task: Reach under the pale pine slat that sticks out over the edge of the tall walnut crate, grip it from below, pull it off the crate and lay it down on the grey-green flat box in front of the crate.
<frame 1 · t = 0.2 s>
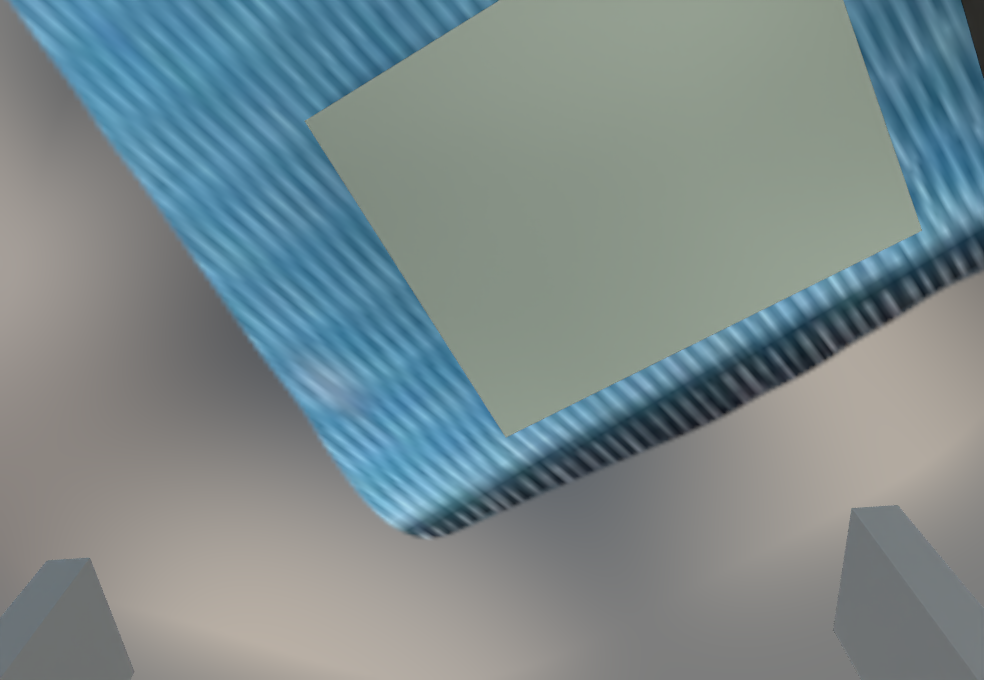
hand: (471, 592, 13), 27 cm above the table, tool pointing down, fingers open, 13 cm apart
grey-green flat box: (605, 161, 37), on the table
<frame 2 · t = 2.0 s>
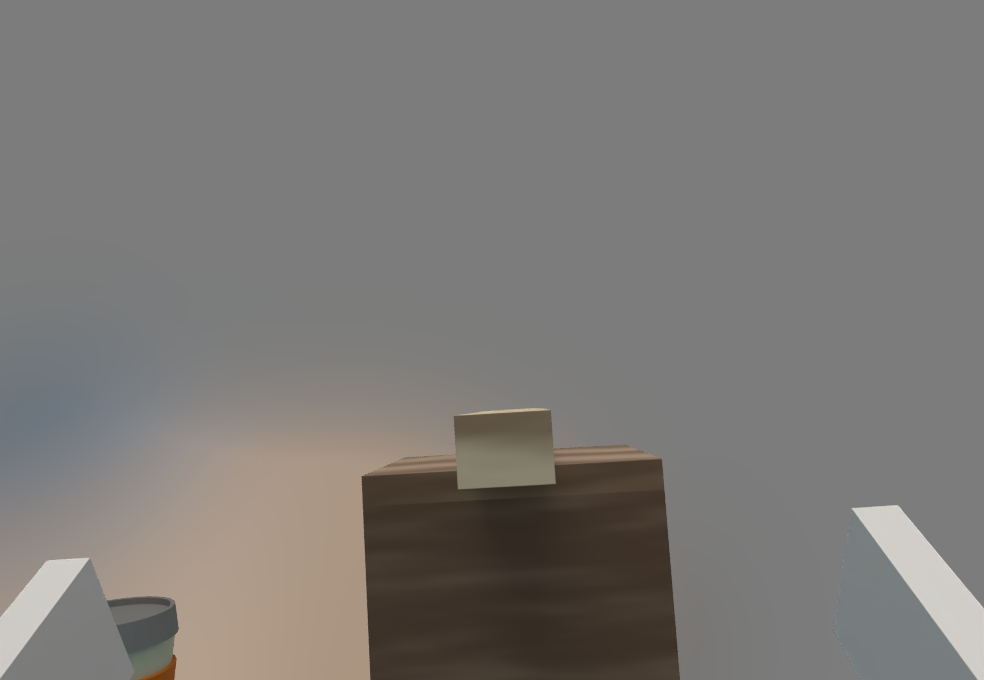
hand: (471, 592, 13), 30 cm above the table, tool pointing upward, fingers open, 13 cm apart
pine slat: (511, 463, 41), point 30 cm above the table, touching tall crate
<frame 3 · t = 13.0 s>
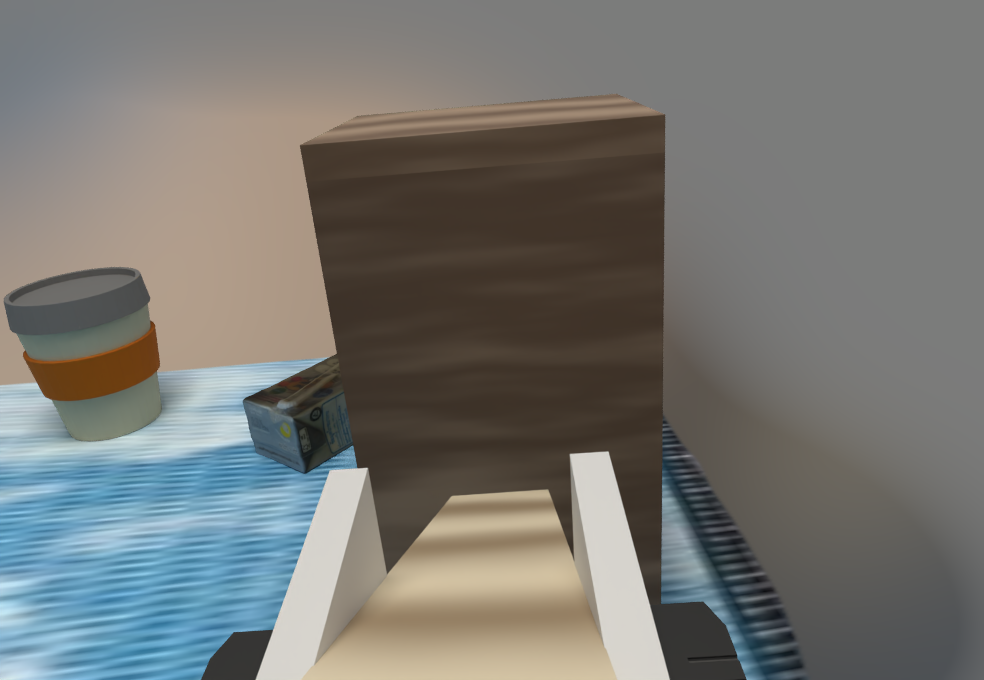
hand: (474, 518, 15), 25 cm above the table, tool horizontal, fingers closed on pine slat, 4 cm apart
pine slat: (494, 671, 18), point 19 cm above the table, tilted 28°, touching gripper
beverage carton: (355, 423, 72), on the table
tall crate: (521, 571, 49), on the table
reusable coffee cup: (117, 421, 76), on the table
when the fingers open (17 cm above the table, at t = 15.0 s): pine slat drops 7 cm, resting on grey-green flat box.
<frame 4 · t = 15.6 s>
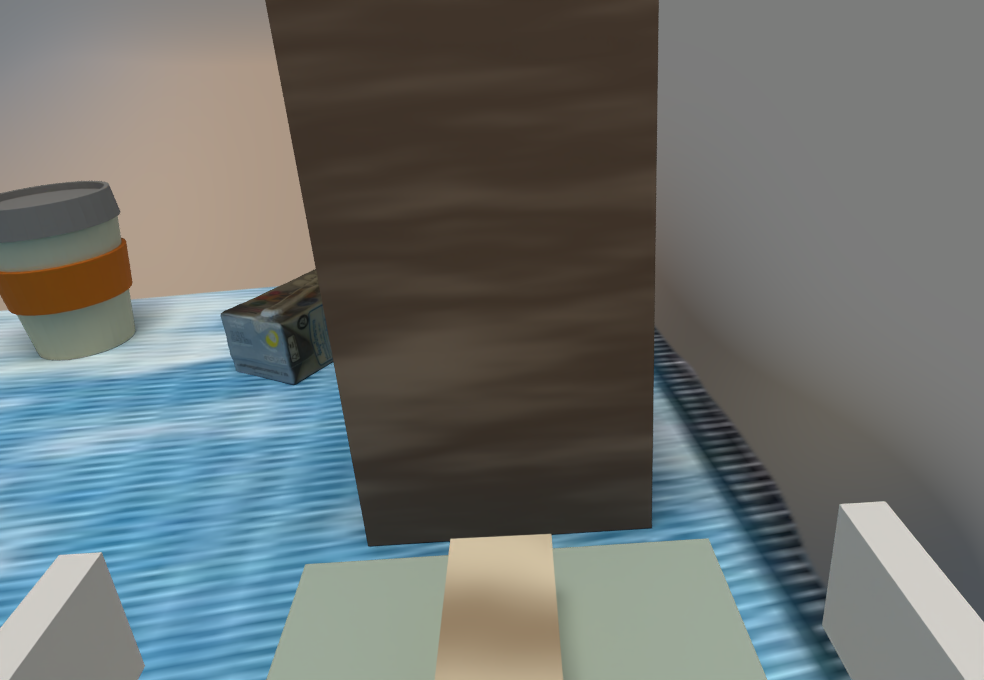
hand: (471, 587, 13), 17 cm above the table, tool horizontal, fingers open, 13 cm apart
beverage carton: (336, 340, 69), on the table
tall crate: (506, 466, 47), on the table
reusable coffee cup: (88, 342, 73), on the table
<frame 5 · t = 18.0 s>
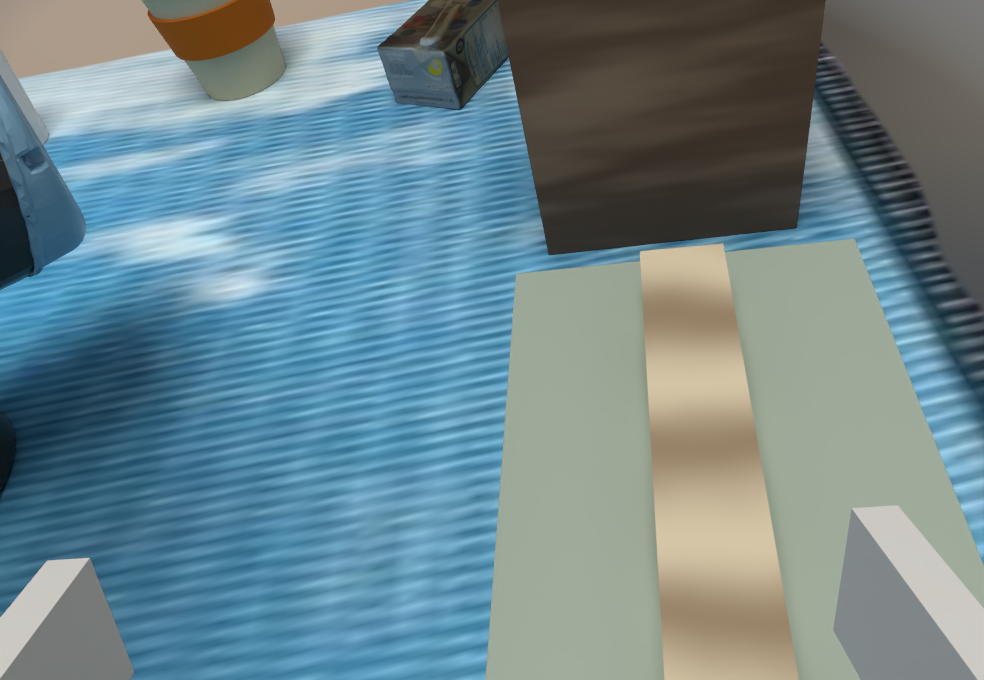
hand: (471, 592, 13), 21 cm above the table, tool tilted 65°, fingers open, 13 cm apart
pine slat: (704, 494, 30), point 5 cm above the table, touching grey-green flat box
beverage carton: (476, 59, 72), on the table
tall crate: (660, 178, 52), on the table
grey-green flat box: (700, 480, 36), on the table
foam cup: (22, 147, 80), on the table
reusable coffee cup: (247, 80, 79), on the table
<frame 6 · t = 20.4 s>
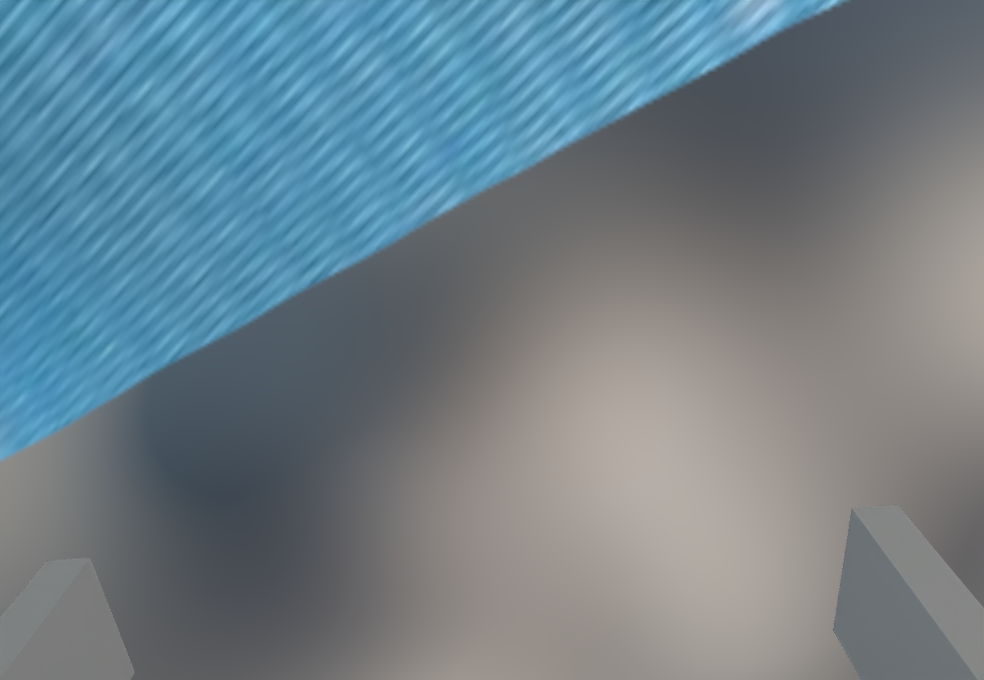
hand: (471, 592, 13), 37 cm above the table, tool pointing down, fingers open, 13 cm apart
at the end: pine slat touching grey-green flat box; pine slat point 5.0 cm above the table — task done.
